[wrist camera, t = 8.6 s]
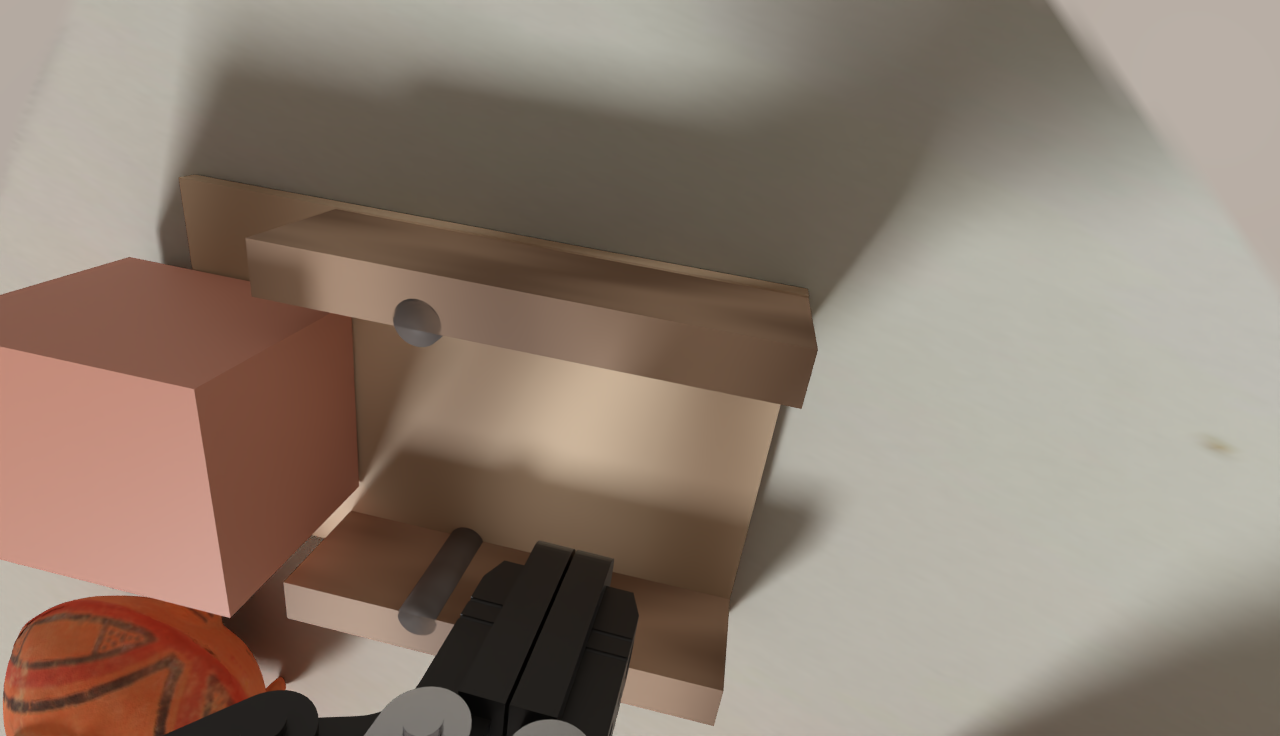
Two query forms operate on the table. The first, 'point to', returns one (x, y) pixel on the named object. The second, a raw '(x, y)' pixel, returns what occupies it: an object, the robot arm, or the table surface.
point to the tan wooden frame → (526, 418)
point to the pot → (124, 669)
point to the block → (170, 430)
